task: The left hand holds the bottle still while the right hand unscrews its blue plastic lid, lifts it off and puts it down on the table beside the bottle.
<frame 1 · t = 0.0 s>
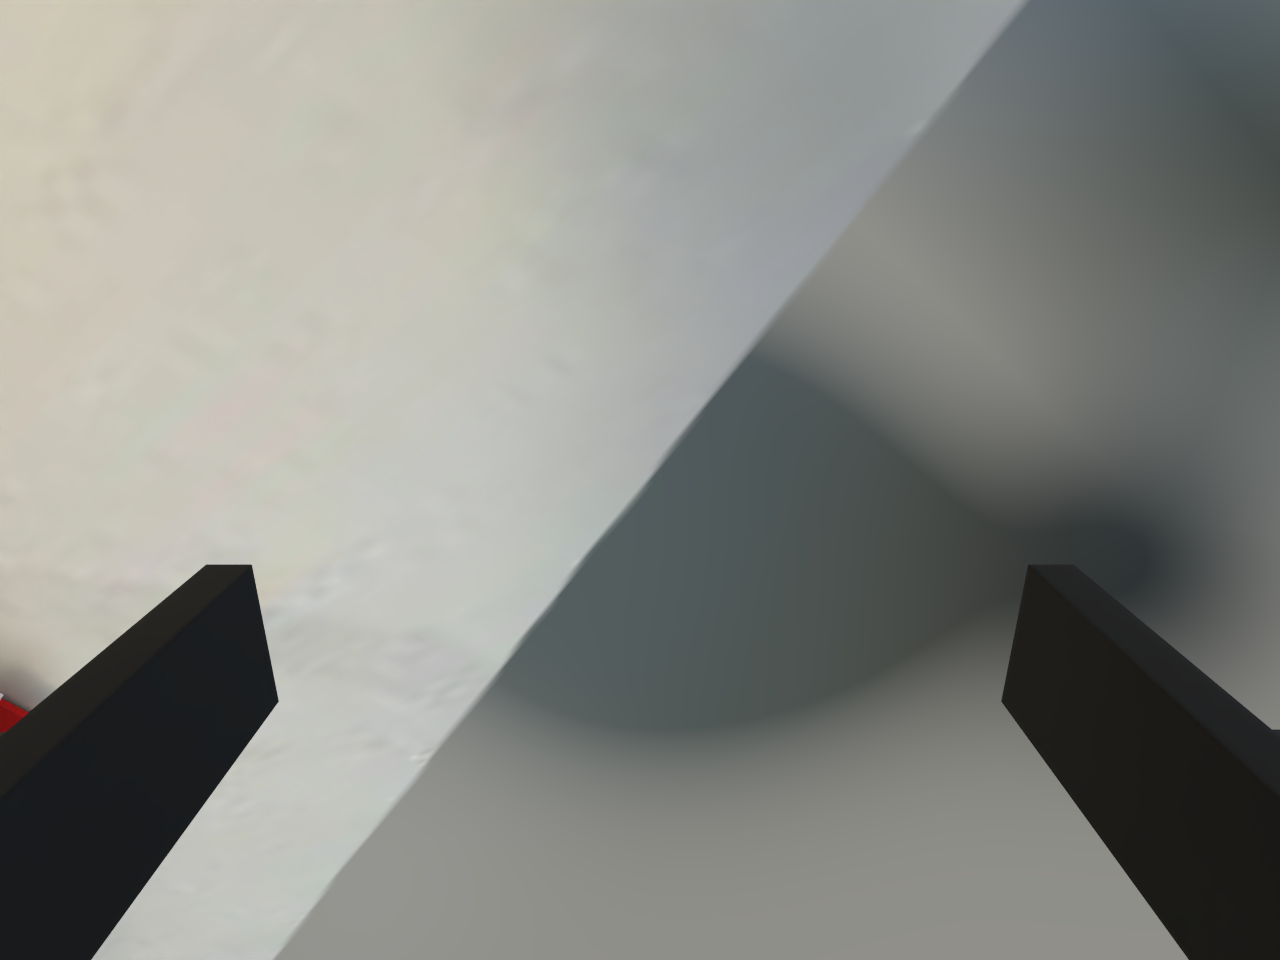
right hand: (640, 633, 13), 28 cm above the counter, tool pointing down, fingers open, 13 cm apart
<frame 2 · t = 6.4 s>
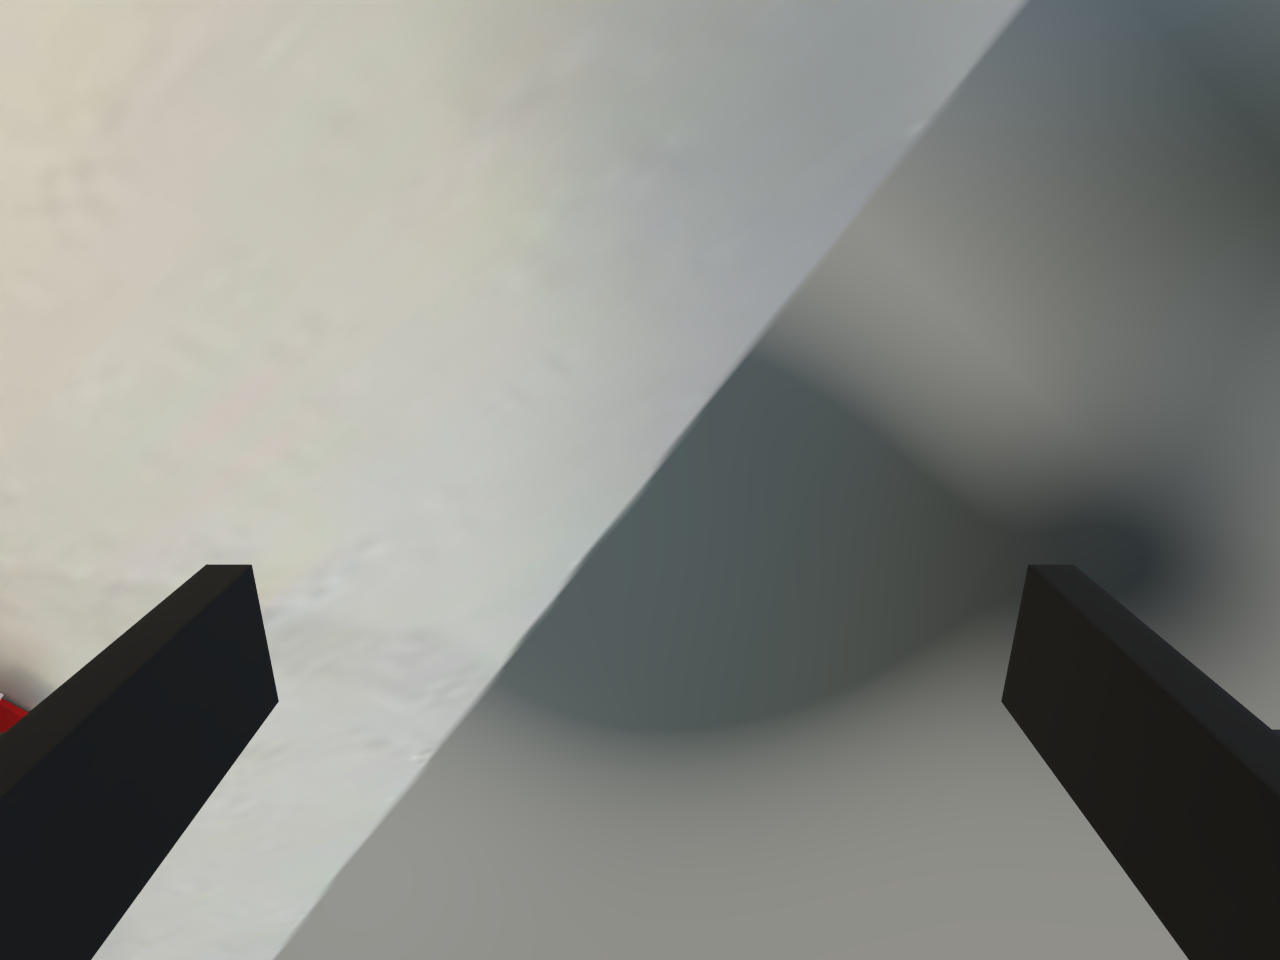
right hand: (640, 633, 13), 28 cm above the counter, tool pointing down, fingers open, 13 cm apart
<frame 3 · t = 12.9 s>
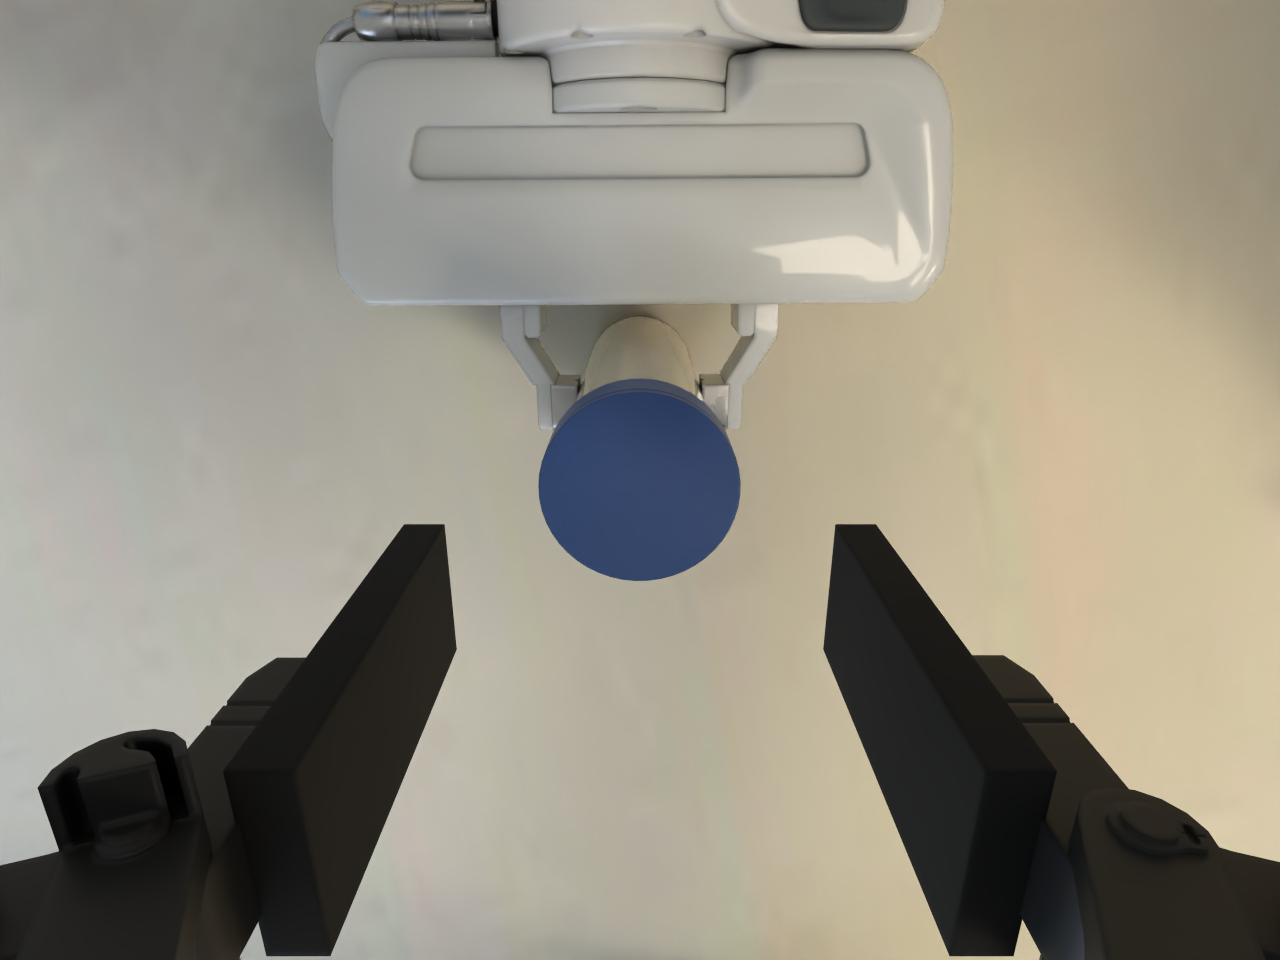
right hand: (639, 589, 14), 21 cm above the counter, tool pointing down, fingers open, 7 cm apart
left hand: (641, 426, 28), fingers closed on bottle, 4 cm apart
bottle: (640, 366, 34), on the counter, touching left hand
lid: (639, 486, 20), point 15 cm above the counter, screwed on, not yet turned
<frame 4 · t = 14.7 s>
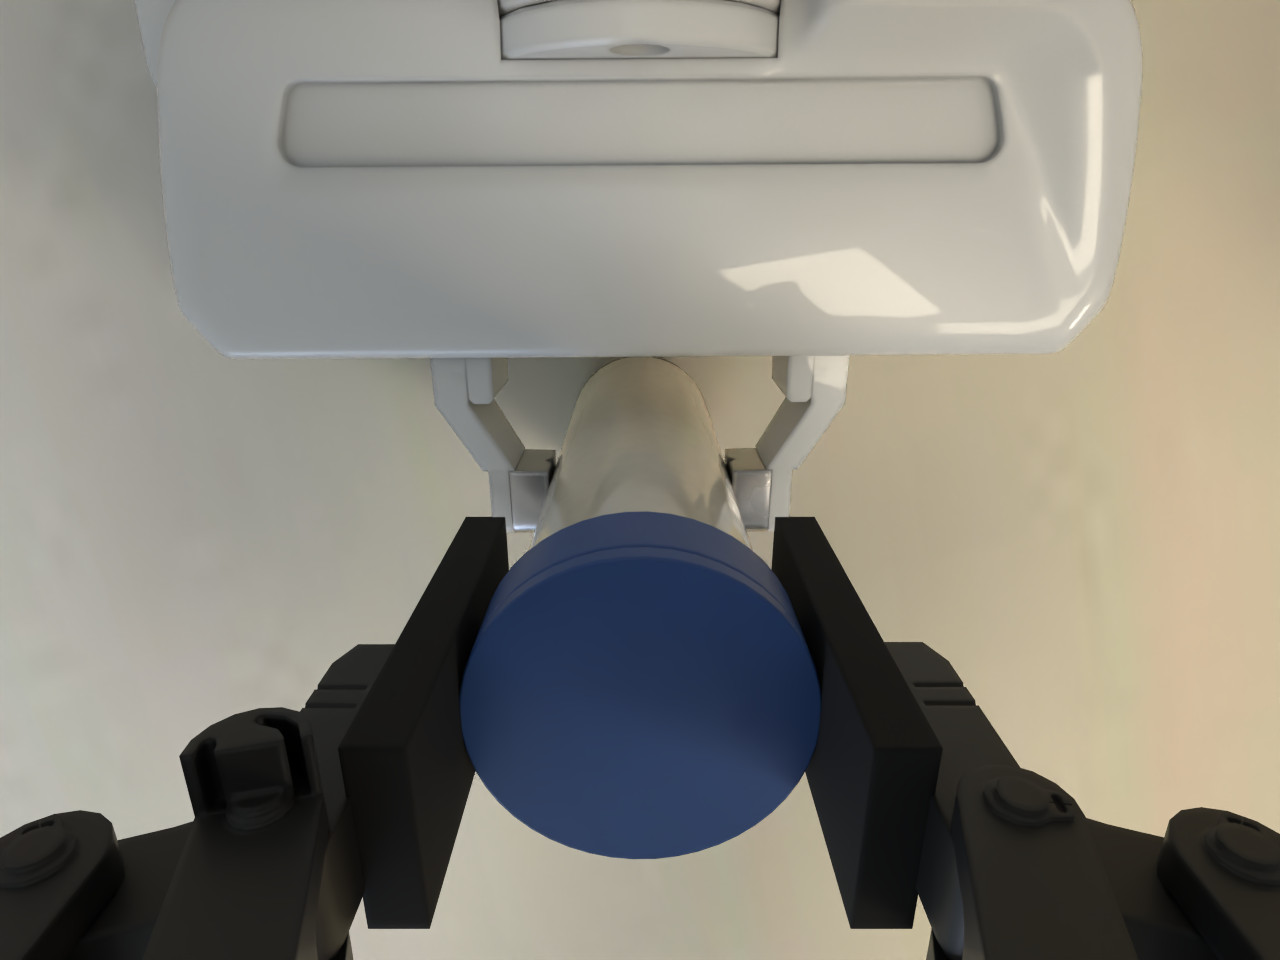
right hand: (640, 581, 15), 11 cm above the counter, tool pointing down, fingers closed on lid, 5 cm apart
left hand: (642, 524, 20), fingers closed on bottle, 4 cm apart
bottle: (640, 422, 26), on the counter, touching left hand
lid: (640, 706, 11), point 15 cm above the counter, screwed on, not yet turned, touching right hand
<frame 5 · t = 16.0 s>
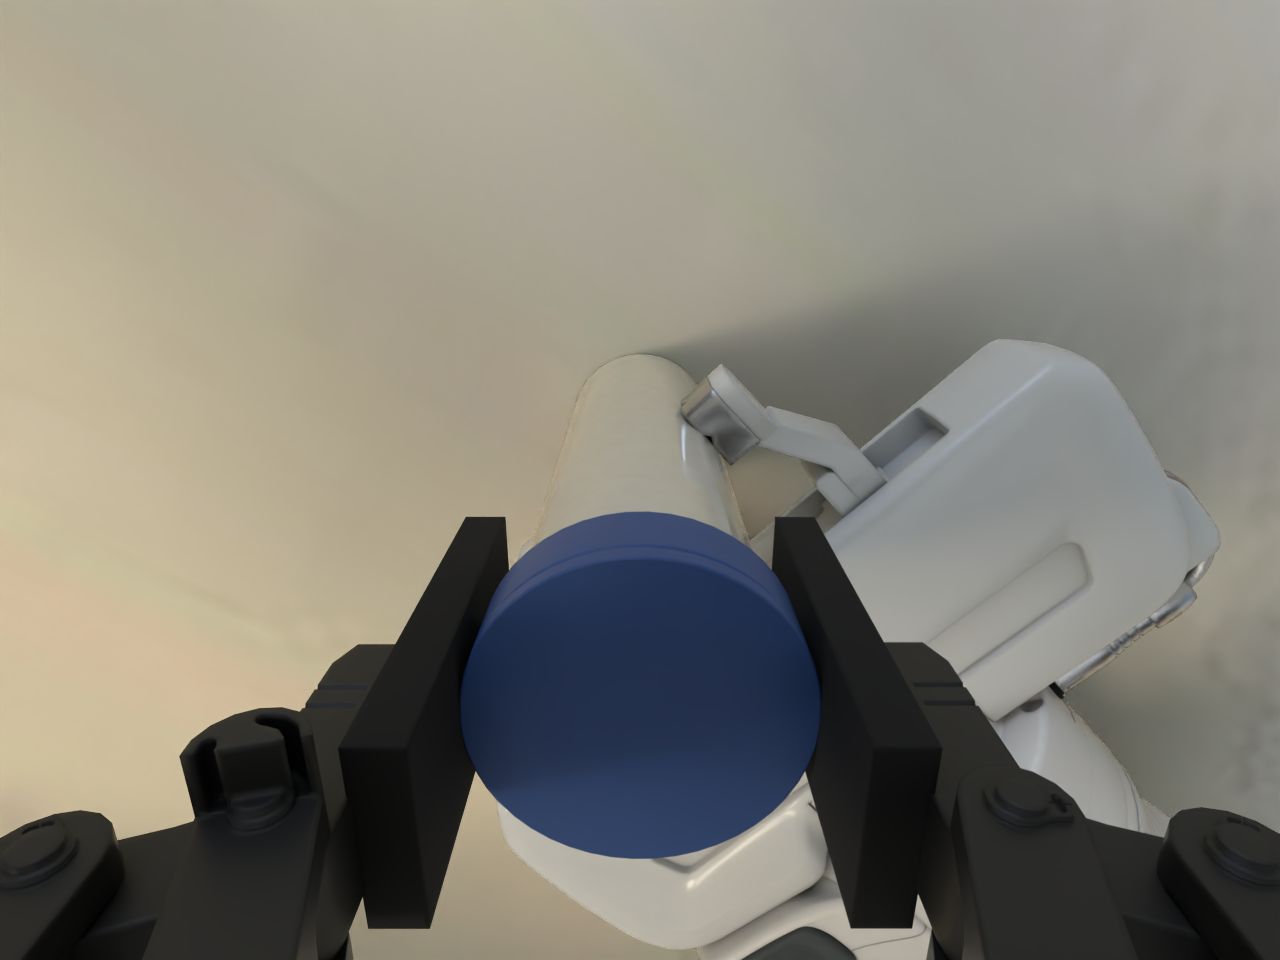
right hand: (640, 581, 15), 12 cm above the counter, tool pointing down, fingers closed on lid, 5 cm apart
left hand: (615, 465, 19), fingers closed on bottle, 4 cm apart
bottle: (640, 419, 26), on the counter, touching left hand
lid: (640, 706, 11), point 16 cm above the counter, off its thread, touching right hand
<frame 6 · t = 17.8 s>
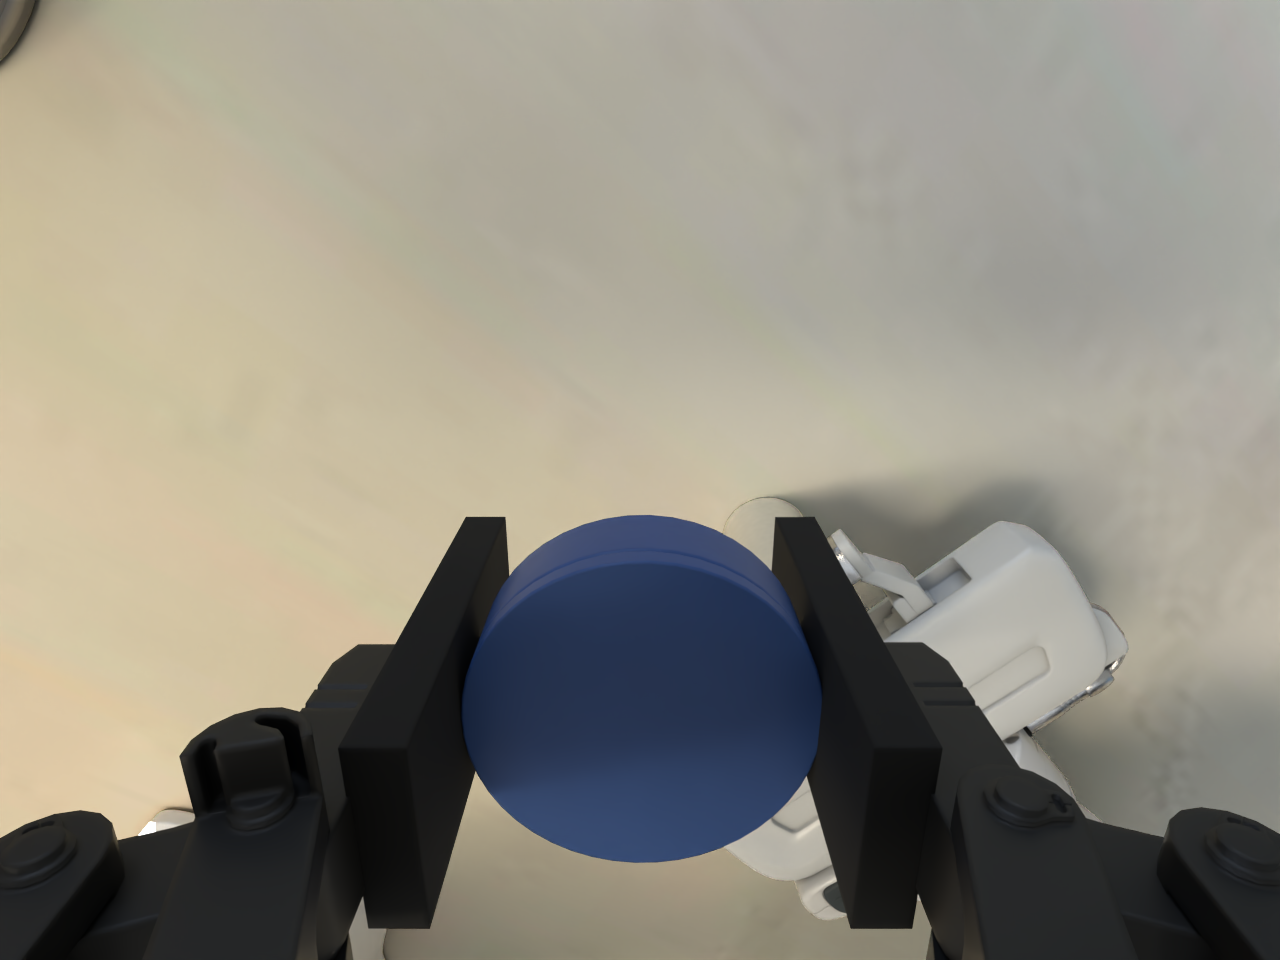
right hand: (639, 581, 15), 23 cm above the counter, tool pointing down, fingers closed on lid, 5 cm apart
bottle: (765, 537, 40), on the counter, touching left hand
lid: (642, 709, 11), point 27 cm above the counter, off its thread, touching right hand
when the right hand's fingers open (0 cm above the counter, at t = 22.2 s): lid drops 3 cm, point 1 cm above the counter.
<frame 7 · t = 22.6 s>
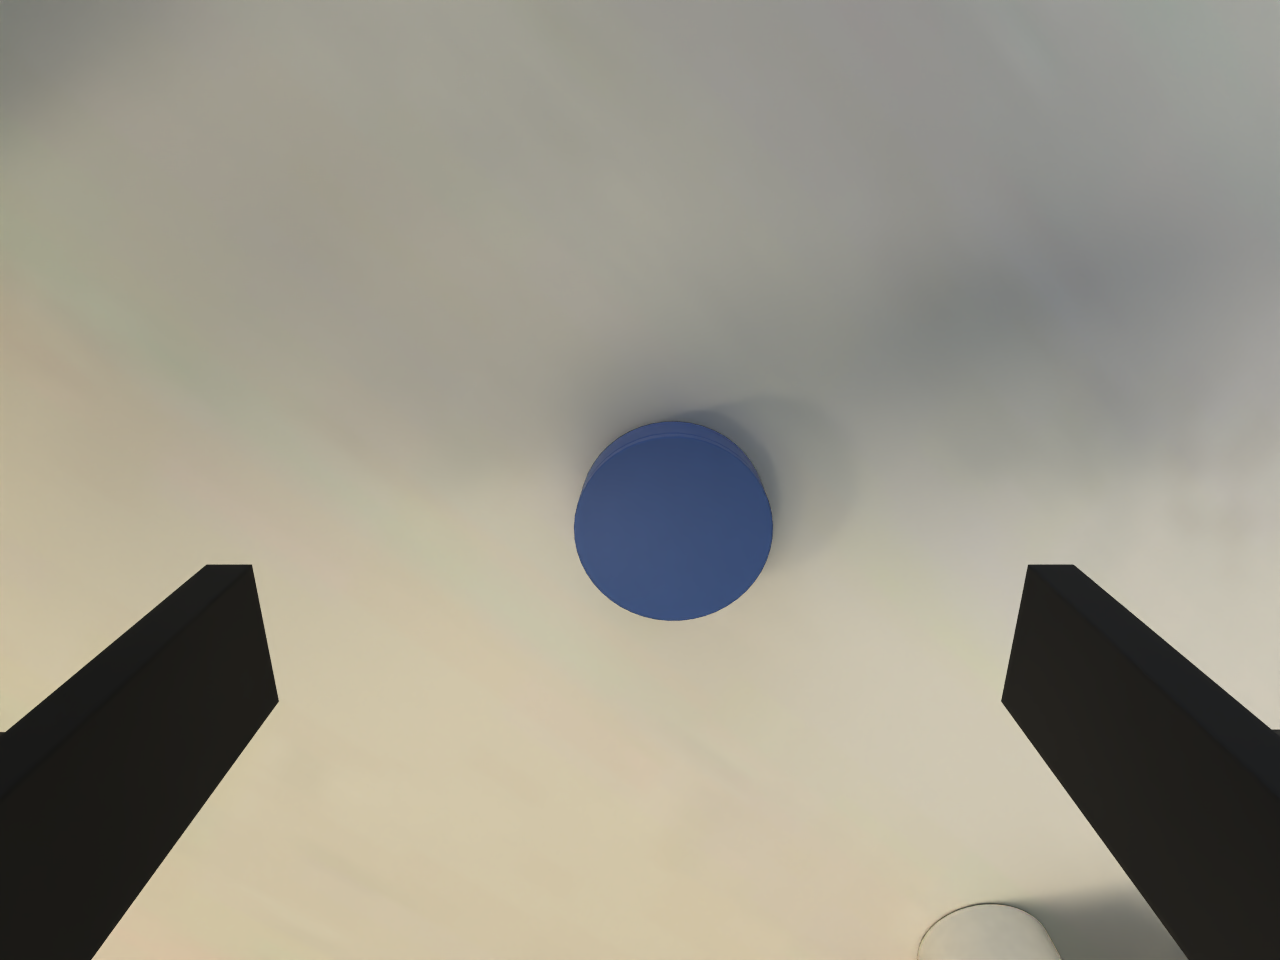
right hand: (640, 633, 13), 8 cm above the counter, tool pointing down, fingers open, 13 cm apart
bottle: (983, 953, 26), on the counter, touching left hand
lid: (672, 527, 20), point 1 cm above the counter, off its thread
when the left hand's fingers open (7 cm above the counter, at t = 22.8 s): bottle stays where it is, on the counter.
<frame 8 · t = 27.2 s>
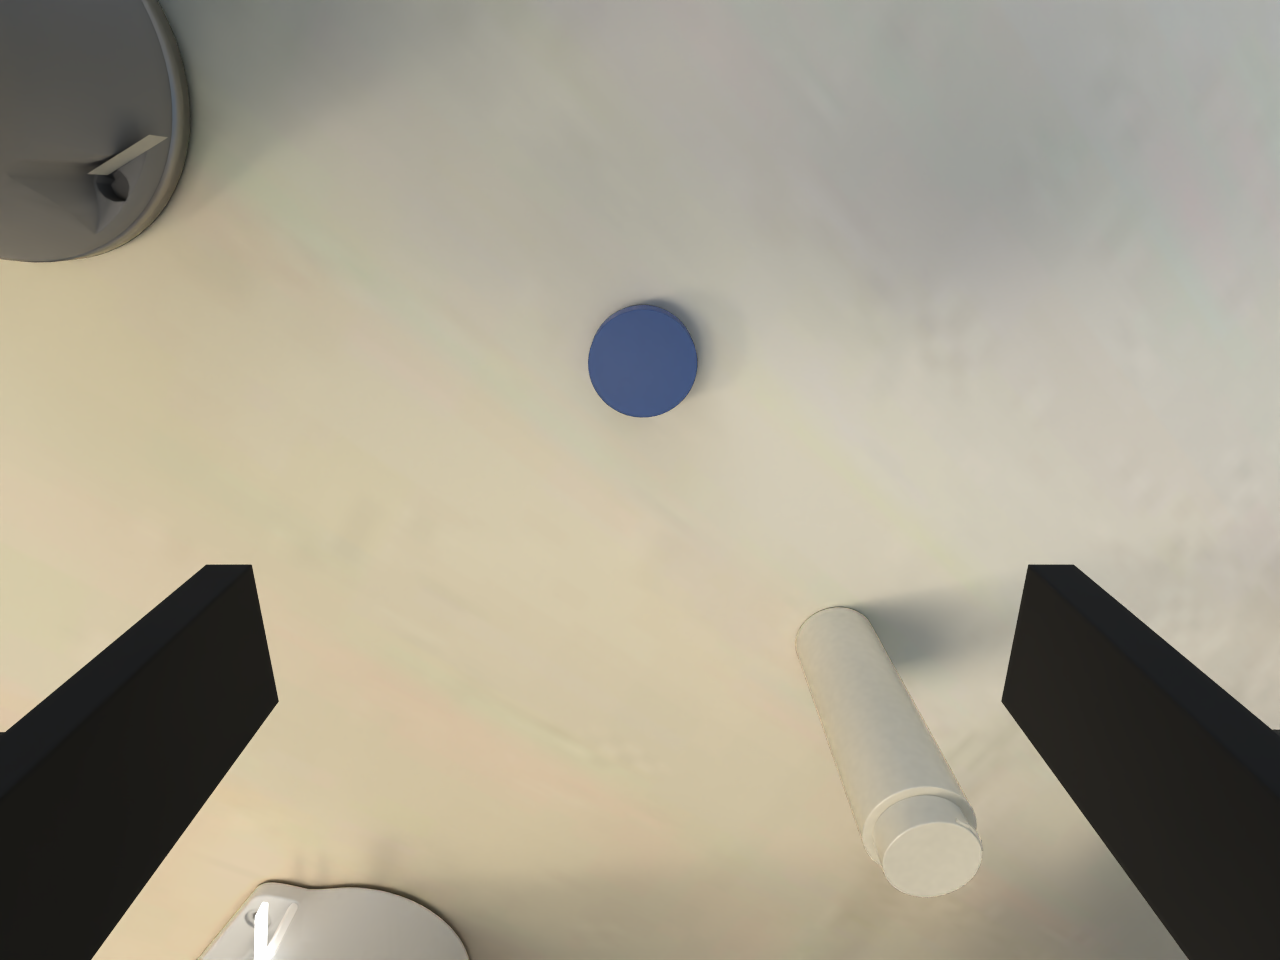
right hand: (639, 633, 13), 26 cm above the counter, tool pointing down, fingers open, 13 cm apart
bottle: (834, 641, 43), on the counter
lid: (642, 363, 36), point 1 cm above the counter, off its thread
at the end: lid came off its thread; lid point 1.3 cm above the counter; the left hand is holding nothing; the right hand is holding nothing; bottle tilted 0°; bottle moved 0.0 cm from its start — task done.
